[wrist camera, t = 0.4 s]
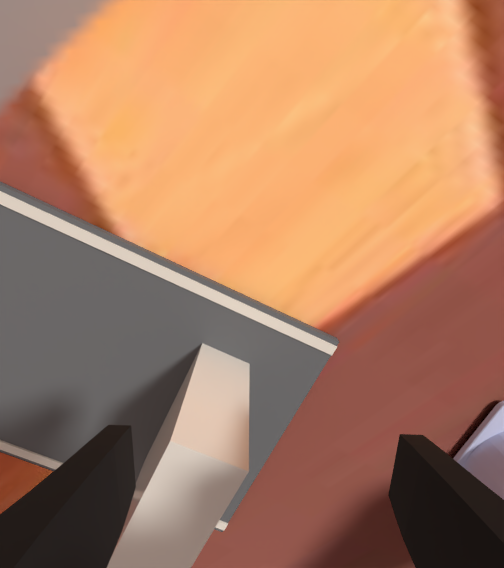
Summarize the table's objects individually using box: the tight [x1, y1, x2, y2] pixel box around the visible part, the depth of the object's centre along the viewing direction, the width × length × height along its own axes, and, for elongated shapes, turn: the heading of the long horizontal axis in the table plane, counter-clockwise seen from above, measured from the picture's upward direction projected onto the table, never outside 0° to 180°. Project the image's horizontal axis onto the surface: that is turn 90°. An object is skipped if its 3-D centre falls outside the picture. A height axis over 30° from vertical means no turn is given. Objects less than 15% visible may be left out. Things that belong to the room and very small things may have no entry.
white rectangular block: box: [107, 343, 250, 568], centre depth 16 cm, size 3×9×8 cm, turn 154°
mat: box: [0, 182, 339, 532], centre depth 19 cm, size 20×16×1 cm
